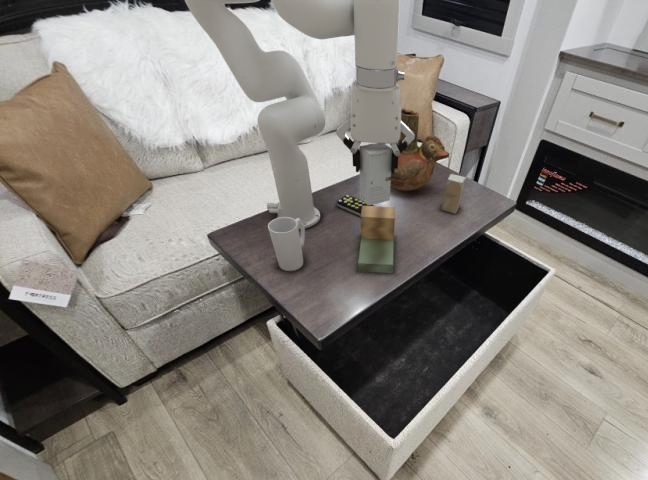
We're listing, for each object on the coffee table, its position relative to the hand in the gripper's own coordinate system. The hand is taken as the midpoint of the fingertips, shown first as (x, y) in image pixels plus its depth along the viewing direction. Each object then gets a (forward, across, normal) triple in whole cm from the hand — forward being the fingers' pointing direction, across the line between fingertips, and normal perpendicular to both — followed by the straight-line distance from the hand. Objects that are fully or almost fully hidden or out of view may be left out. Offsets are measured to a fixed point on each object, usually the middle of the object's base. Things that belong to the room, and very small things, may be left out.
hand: (375, 169), depth 74 cm
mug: (+25, +21, +3) cm, 33 cm away
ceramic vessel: (+25, -10, -40) cm, 48 cm away
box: (+25, -24, -27) cm, 44 cm away
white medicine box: (+7, 0, 0) cm, 7 cm away
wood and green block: (+25, -1, -2) cm, 25 cm away
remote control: (+25, +7, -24) cm, 35 cm away
